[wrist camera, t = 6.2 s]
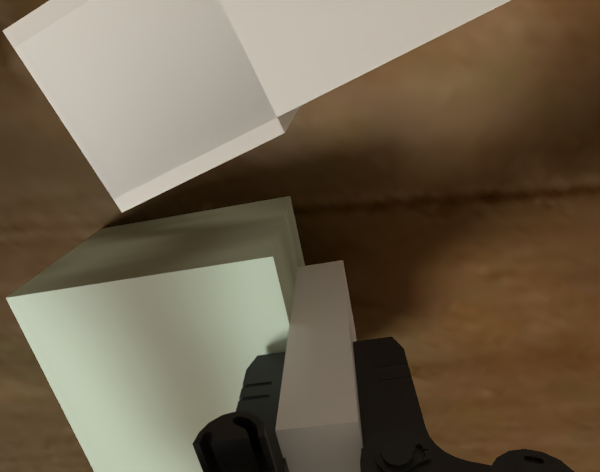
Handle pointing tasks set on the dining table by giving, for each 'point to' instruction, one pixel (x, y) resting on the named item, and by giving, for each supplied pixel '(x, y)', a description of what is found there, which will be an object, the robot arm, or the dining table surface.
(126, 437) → the pale green block
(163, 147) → the gate
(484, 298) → the dining table surface
